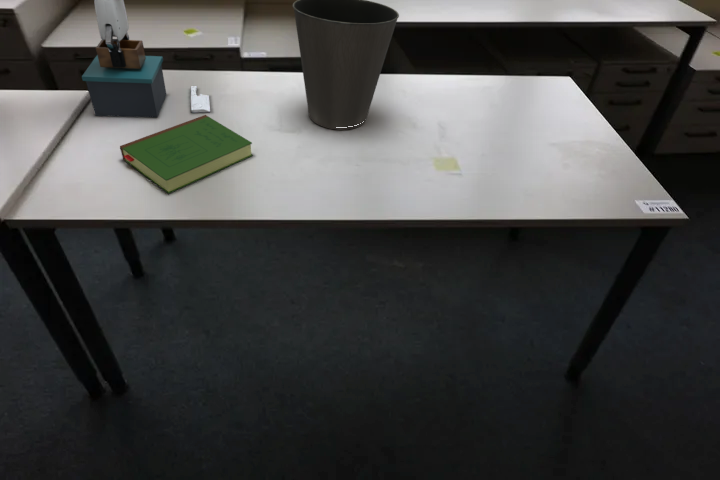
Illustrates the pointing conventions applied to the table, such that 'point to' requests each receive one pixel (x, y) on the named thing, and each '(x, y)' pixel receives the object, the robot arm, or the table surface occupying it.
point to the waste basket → (342, 57)
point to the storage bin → (126, 89)
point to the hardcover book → (186, 152)
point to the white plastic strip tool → (199, 101)
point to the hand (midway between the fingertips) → (122, 60)
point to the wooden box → (130, 49)
